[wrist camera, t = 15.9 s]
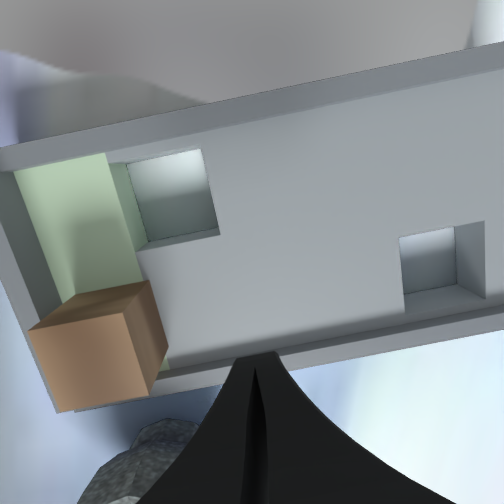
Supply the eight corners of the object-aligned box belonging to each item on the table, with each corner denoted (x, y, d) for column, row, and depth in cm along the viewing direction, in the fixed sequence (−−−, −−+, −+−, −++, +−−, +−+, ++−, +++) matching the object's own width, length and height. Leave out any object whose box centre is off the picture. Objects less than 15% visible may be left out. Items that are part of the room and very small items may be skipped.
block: (149, 279, 17) (122, 312, 13) (168, 346, 18) (148, 395, 14) (75, 294, 17) (26, 331, 13) (98, 360, 18) (60, 411, 14)
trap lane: (475, 60, 17) (555, 24, 13) (481, 301, 21) (545, 336, 16) (19, 156, 18) (-53, 152, 13) (100, 375, 21) (63, 429, 17)
